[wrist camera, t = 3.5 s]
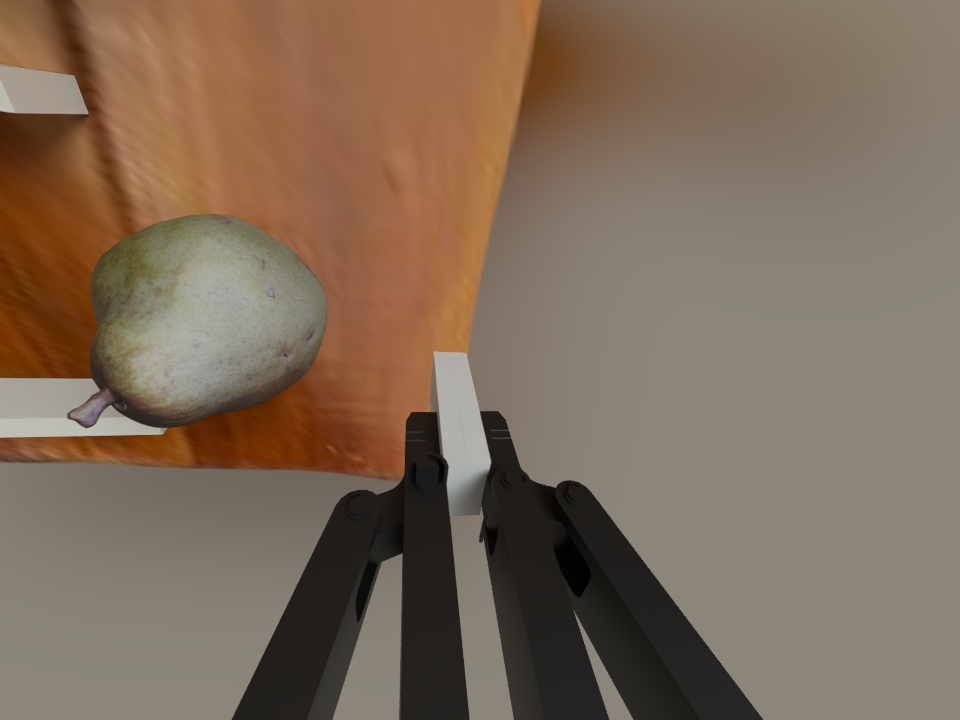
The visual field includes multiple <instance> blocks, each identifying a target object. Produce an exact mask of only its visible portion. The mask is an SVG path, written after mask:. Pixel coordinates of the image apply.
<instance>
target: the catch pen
mask: <svg viewBox="0 0 960 720" xmlns="http://www.w3.org/2000/svg"><path fill="white" fill-rule="evenodd" d="M0 111H3V112H11V113H38V114H88V111H87V108H86V106H85V103H84V100H83V98H82V95H81V92H80V89H79V87H78V84H77V81H76V79H75V76H74V75H67V74H61V73H54V72H48V71H41V70H35V69H29V68H22V67H16V66H9V65H3V64H0ZM99 391H100V390H99V388H98V387H97V385H96V384H95V382H94V381H93V379H55V378H0V437H53V436H107V435H160V434H163V433H164V432H165V431H166V430H167V428H155V427H150V426H146V425H143V424H140V423H138V422H135V421H133V420H131V419H129V418H127V417H125V416H124V415H122V414H121V413H119V412H118V411H116V410H115V409H114V408H113V406H112V405H110V406H108V407H107V408H106V409H105V410H104V411H103V412H102V413H101V415H100V417H99V419H98V421H97V423H96V424H95V425H94V426H92V427H89V428H84V427H82V426H80V425H79V424H78V423H77V422H76V421H74V420H70V419H67V413H69V412H70V411H71V410H73V409H75V408H78V407H80V406H81V405H82V404H84V403H85V402H86V401H87V400H88V399H89V398H90V397H91V396H92V395H93V394H95V393H97V392H99Z"/></svg>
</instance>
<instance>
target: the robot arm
mask: <svg viewBox="0 0 960 720" xmlns="http://www.w3.org/2000/svg"><path fill="white" fill-rule="evenodd" d="M430 403H431V412H411V414H410V416H409V417H408V419H407V420H406V439H405V474H404V477H403V479H402V481H401V482H400V483H399V484H398V486H396V487H395V488H393V489H392V490H389V491H387V492H384V493H381V494H379V495H376V494H375V493H373V492H370V491H368V490H357V491H353V492H350V493H348V494H347V495H345V496H344V497H342V498H341V499H340V501H339V502H338V503H337V505H336V506H335V508H334V511H333V513H332V515H331V517H330V519H329V521H328V523H327V525H326V527H325V529H324V531H323V533H322V535H321V537H320V539H319V541H318V543H317V546H316V547H315V549H314V552H313V554H312V556H311V558H310V560H309V562H308V564H307V566H306V568H305V570H304V572H303V574H302V576H301V578H300V580H299V582H298V584H297V586H296V588H295V591H294V593H293V595H292V597H291V599H290V601H289V603H288V605H287V607H286V609H285V611H284V613H283V615H282V617H281V619H280V622H279V624H278V625H277V628H276V630H275V632H274V634H273V636H272V638H271V640H270V642H269V644H268V646H267V648H266V650H265V652H264V654H263V656H262V658H261V661H260V662H259V665H258V667H257V669H256V671H255V673H254V675H253V677H252V679H251V681H250V683H249V685H248V687H247V689H246V691H245V693H244V695H243V698H242V699H241V701H240V704H239V706H238V708H237V710H236V712H235V714H234V716H233V718H232V720H332V719H333V716H334V712H335V709H336V706H337V703H338V700H339V697H340V693H341V690H342V687H343V684H344V681H345V677H346V674H347V671H348V668H349V665H350V661H351V658H352V655H353V652H354V649H355V645H356V642H357V639H358V636H359V633H360V630H361V626H362V623H363V620H364V617H365V614H366V610H367V607H368V604H369V601H370V597H371V594H372V591H373V588H374V585H375V582H376V579H377V575H378V572H379V569H380V566H381V563H382V561H385V560H387V559H390V558H392V557H394V556H397V555H399V554H401V553H403V564H402V612H401V614H402V615H401V660H400V662H401V663H400V710H399V712H400V713H399V720H469V710H468V699H467V689H466V679H465V668H464V658H463V648H462V639H461V628H460V618H459V607H458V598H457V597H458V596H457V586H456V576H455V566H454V555H453V545H452V535H451V525H450V516H461V515H462V516H463V515H479V514H480V511H481V506H482V510H483V515H484V519H483V523H482V528H481V532H480V537H479V538H480V539H479V542H482V541H483V537H484V543H485V549H486V555H487V561H488V567H489V573H490V579H491V585H492V591H493V597H494V603H495V609H496V614H497V621H498V627H499V633H500V639H501V644H502V651H503V656H504V663H505V669H506V674H507V680H508V686H509V692H510V698H511V704H512V710H513V716H514V720H609V717H608V714H607V711H606V708H605V705H604V703H603V699H602V696H601V693H600V690H599V687H598V684H597V681H596V678H595V675H594V672H593V669H592V666H591V662H590V659H589V656H588V653H587V650H586V647H585V644H584V641H583V638H582V635H581V632H580V629H579V626H578V623H577V620H576V617H575V614H574V611H575V613H576V615H577V617H578V619H579V620H580V622H581V624H582V626H583V628H584V630H585V631H586V633H587V635H588V637H589V639H590V641H591V642H592V644H593V646H594V648H595V650H596V651H597V653H598V655H599V657H600V659H601V661H602V663H603V664H604V666H605V668H606V670H607V672H608V674H609V675H610V677H611V679H612V681H613V683H614V685H615V687H616V688H617V690H618V692H619V694H620V695H621V698H622V699H623V701H624V703H625V705H626V707H627V709H628V710H629V712H630V714H631V716H632V717H633V719H634V720H763V719H762V717H761V716H760V715H759V713H758V712H757V711H756V710H755V709H754V707H753V706H752V704H751V703H750V702H749V700H748V699H747V698H746V696H745V695H744V694H743V692H742V691H741V690H740V688H739V687H738V686H737V684H736V683H735V682H734V680H733V679H732V678H731V676H730V675H729V674H728V673H727V671H726V670H725V669H724V667H723V666H722V665H721V663H720V662H719V661H718V659H717V658H716V657H715V655H714V654H713V653H712V651H711V650H710V649H709V647H708V646H707V645H706V643H705V642H704V641H703V639H702V638H701V637H700V635H699V634H698V633H697V631H696V630H695V629H694V628H693V626H692V625H691V624H690V622H689V621H688V620H687V618H686V617H685V616H684V614H683V613H682V612H681V610H680V609H679V608H678V606H677V605H676V604H675V602H674V601H673V600H672V598H671V597H670V596H669V594H668V593H667V592H666V591H665V589H664V588H663V587H662V585H661V584H660V583H659V581H658V580H657V579H656V577H655V576H654V575H653V573H652V572H651V571H650V569H649V568H648V567H647V565H646V564H645V563H644V561H643V560H642V559H641V557H640V556H639V555H638V553H637V552H636V551H635V550H634V548H633V547H632V546H631V544H630V543H629V542H628V540H627V539H626V538H625V536H624V535H623V534H622V532H621V531H620V530H619V528H618V527H617V526H616V525H615V523H614V522H613V520H612V519H611V518H610V516H609V515H608V514H607V512H606V511H605V510H604V509H603V507H602V506H601V505H600V503H599V502H598V501H597V500H596V498H595V497H594V495H593V494H592V493H591V492H590V490H589V489H588V488H587V487H585V486H584V485H582V484H580V483H579V482H575V481H571V480H569V481H563V482H561V483H559V484H558V485H557V487H556V488H554V487H550V486H546V485H542V484H539V483H536V482H534V481H532V480H531V479H530V478H529V476H528V475H527V474H526V473H525V472H524V471H523V470H522V469H521V467H520V464H519V461H518V458H517V455H516V452H515V448H514V445H513V442H512V439H511V436H510V432H509V431H508V430H509V429H508V426H507V423H506V420H505V419H504V417H503V416H502V415H501V414H500V413H499V412H498V411H479V407H478V403H477V399H476V394H475V390H474V386H473V382H472V377H471V373H470V368H469V364H468V360H467V355H466V353H455V352H434V355H433V368H432V381H431V394H430ZM573 609H574V611H573Z"/></svg>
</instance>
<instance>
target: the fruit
mask: <svg viewBox="0 0 960 720" xmlns="http://www.w3.org/2000/svg"><path fill="white" fill-rule="evenodd" d="M90 291H91V300H92V304H93V308H94V312H95V316H96V319H97V323H98V326H99V328H98V330H97V332H96V334H95V336H94V339H93V342H92V346H91V355H90V373H91V377H92V379H93V381H94V382H95V384H96V385H97V387H98V388H99V390H100V391H99V392H97V393H95V394H93V395H92V396H91V397H90V398H89V399H88V400H87V401H86V402H85V403H84V404H82V405H81V406H80V407H78V408H75V409H73V410H71V411H70V412H69V413H67V419H70V420H74V421H76V422H77V423H78V424H79V425H80V426H82V427H84V428H89V427H92V426H94V425H95V424H96V423H97V421H98V419H99V417H100V415H101V413H102V412H103V411H104V410H105V409H106V408H107V407H108V406H110V405H112V406H113V408H114V409H115V410H116V411H118V412H119V413H121V414H122V415H124V416H125V417H127V418H129V419H131V420H133V421H135V422H138V423H140V424H143V425H146V426H150V427H155V428H172V427H178V426H183V425H187V424H191V423H194V422H197V421H200V420H202V419H205V418H207V417H209V416H211V415H214V414H218V413H225V412H232V411H237V410H241V409H245V408H248V407H251V406H255V405H258V404H260V403H263V402H265V401H267V400H268V399H270V398H272V397H273V396H275V395H277V394H278V393H280V392H281V391H283V390H284V389H286V388H287V387H289V386H291V385H292V384H294V383H295V382H296V381H298V380H299V379H300V378H301V377H302V376H303V375H304V374H305V373H306V372H307V371H308V369H309V368H310V367H311V365H312V364H313V362H314V361H315V359H316V357H317V354H318V352H319V349H320V346H321V343H322V340H323V336H324V332H325V328H326V321H327V301H326V294H325V291H324V289H323V287H322V285H321V283H320V282H319V280H318V278H317V277H316V276H315V274H314V273H313V272H312V271H311V270H310V269H309V267H308V266H307V265H306V264H305V263H304V262H303V261H302V260H301V258H300V257H299V256H298V255H297V254H296V253H295V252H294V251H292V250H291V249H290V248H289V247H288V246H286V245H285V244H283V243H282V242H280V241H278V240H276V239H275V238H273V237H271V236H269V235H267V234H265V233H264V232H262V231H260V230H259V229H257V228H256V227H254V226H253V225H251V224H249V223H247V222H245V221H243V220H240V219H238V218H235V217H232V216H227V215H218V214H209V215H191V216H185V217H181V218H177V219H172V220H168V221H164V222H160V223H157V224H154V225H151V226H148V227H147V228H145V229H143V230H141V231H139V232H137V233H136V234H134V235H132V236H130V237H128V238H126V239H124V240H122V241H121V242H119V243H118V244H116V245H114V246H113V247H112V248H111V249H110V250H108V251H107V252H106V253H105V254H104V255H103V256H102V257H101V258H100V260H99V261H98V263H97V265H96V267H95V269H94V272H93V274H92V279H91V286H90Z"/></svg>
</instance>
